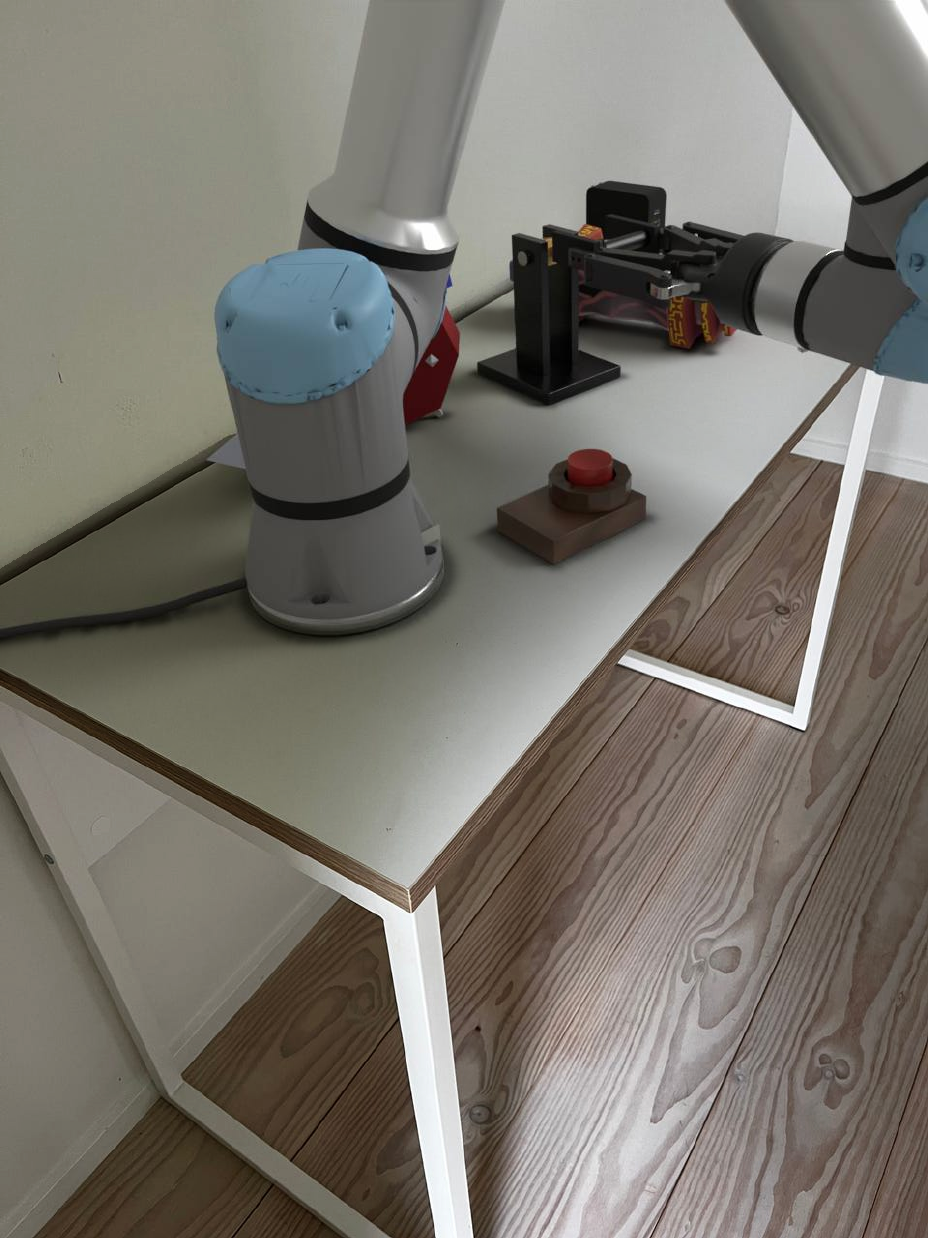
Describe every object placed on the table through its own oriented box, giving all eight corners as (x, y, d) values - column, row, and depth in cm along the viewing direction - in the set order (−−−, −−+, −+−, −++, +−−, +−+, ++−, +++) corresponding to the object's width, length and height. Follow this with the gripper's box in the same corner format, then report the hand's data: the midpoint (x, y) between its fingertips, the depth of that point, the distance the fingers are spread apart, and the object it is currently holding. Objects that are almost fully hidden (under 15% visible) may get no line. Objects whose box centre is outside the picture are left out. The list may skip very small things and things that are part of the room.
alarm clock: (465, 401, 103) (450, 198, 91) (464, 439, 96) (447, 223, 84) (323, 410, 104) (290, 209, 92) (312, 447, 97) (275, 235, 85)
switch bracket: (620, 377, 105) (624, 232, 96) (549, 405, 101) (546, 256, 92) (546, 348, 113) (543, 212, 104) (477, 373, 109) (468, 233, 100)
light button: (588, 493, 78) (588, 473, 77) (558, 477, 81) (558, 458, 80) (621, 478, 80) (622, 458, 79) (591, 463, 82) (591, 444, 81)
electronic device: (645, 274, 132) (648, 195, 126) (585, 263, 137) (585, 186, 132) (663, 266, 134) (667, 187, 128) (603, 255, 140) (604, 179, 134)
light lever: (652, 250, 92) (648, 223, 91) (604, 265, 89) (600, 237, 88) (561, 257, 102) (557, 233, 101) (515, 271, 100) (511, 246, 99)
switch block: (553, 565, 77) (552, 520, 75) (497, 530, 82) (495, 487, 79) (647, 518, 82) (649, 475, 79) (589, 488, 86) (590, 446, 84)
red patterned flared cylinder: (769, 241, 107) (532, 216, 122) (734, 266, 101) (490, 237, 116) (760, 330, 113) (535, 296, 128) (726, 359, 107) (495, 319, 122)
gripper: (693, 369, 77) (505, 302, 92) (847, 305, 85) (651, 254, 101) (700, 270, 72) (501, 218, 88) (861, 214, 81) (654, 175, 96)
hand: (582, 237), depth 94 cm, fingers closed on light lever, 6 cm apart
